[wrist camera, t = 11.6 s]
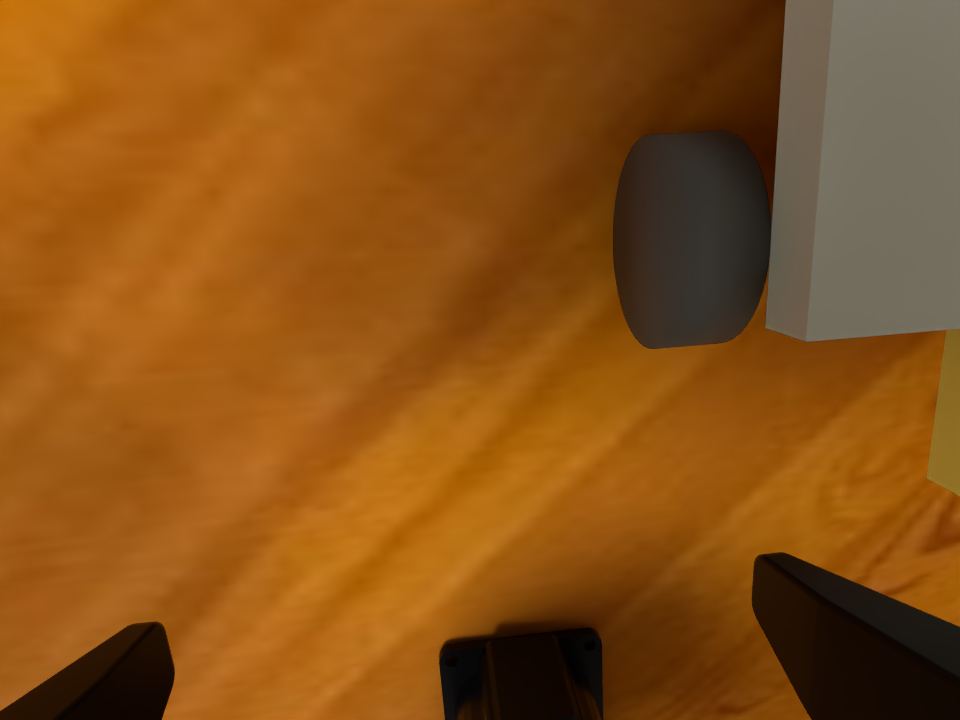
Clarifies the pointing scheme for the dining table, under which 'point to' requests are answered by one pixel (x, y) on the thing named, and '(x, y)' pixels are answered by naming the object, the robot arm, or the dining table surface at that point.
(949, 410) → the chock
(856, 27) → the trolley
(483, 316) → the dining table surface
